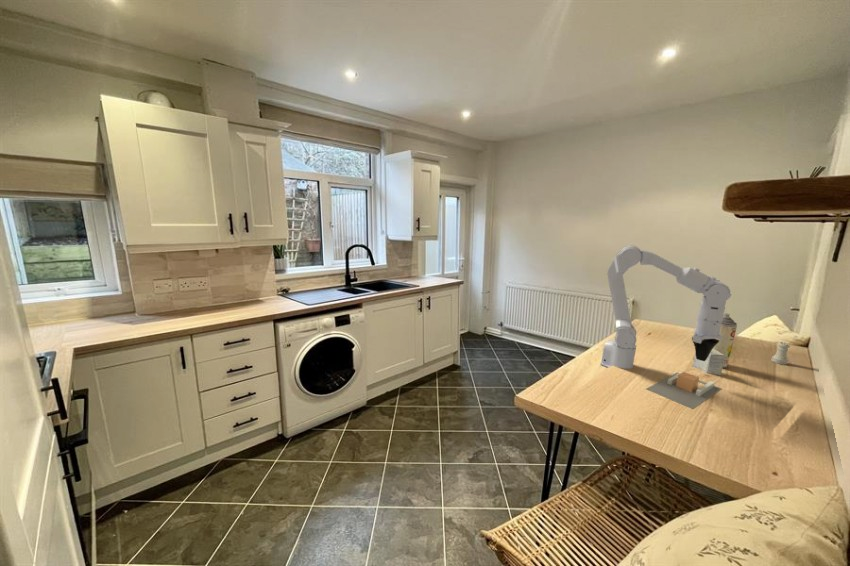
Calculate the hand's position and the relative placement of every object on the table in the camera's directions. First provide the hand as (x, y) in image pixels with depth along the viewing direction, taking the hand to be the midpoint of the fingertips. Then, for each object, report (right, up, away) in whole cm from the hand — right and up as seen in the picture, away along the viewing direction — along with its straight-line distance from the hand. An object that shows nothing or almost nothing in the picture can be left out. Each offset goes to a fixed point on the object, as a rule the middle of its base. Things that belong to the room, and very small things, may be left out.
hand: (700, 359), depth 102 cm
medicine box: (+12, -8, +11) cm, 18 cm away
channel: (-7, -10, -2) cm, 12 cm away
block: (-7, -8, -2) cm, 11 cm away
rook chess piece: (+49, -6, +21) cm, 54 cm away
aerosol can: (+21, -6, +18) cm, 29 cm away
